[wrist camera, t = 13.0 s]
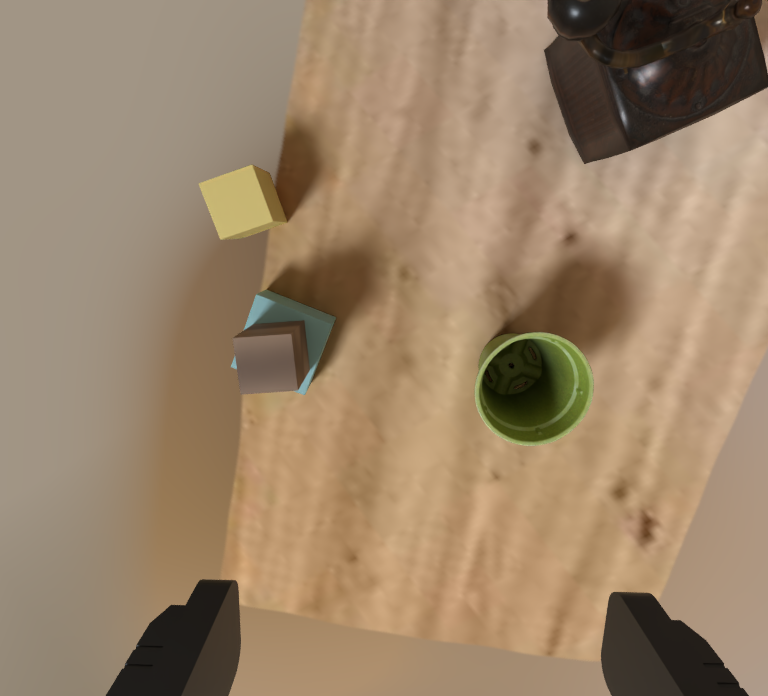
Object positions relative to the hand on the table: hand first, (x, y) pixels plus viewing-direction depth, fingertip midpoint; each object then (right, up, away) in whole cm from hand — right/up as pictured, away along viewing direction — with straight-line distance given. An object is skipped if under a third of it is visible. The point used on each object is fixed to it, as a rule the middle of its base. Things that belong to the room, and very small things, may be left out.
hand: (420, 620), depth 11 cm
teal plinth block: (-10, +7, +38) cm, 40 cm away
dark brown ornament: (+17, +28, +33) cm, 46 cm away
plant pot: (+11, +4, +38) cm, 40 cm away
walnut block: (-10, +6, +34) cm, 36 cm away
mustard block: (-12, +19, +35) cm, 42 cm away
